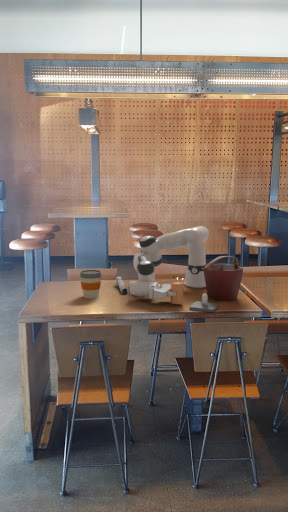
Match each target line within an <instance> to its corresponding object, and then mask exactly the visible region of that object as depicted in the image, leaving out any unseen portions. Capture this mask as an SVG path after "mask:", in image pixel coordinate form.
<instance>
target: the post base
mask: <svg viewBox="0 0 288 512" xmlns="http://www.w3.org/2000/svg"><path fill="white" fill-rule="evenodd" d="M219 305H220V303H217V302H208V295H207V293H202V296H201V301H200V300H199V301H197V300H195V302H194V303H192V304H191V305H190V306H189V310H190V311H198V312H199V311H200V312H207V313H214V312H215V311H216V310H217V309H218V308H219ZM217 307H218V308H217ZM216 308H217V309H216Z"/></svg>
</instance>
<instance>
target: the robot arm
mask: <svg viewBox="0 0 288 512" xmlns="http://www.w3.org/2000/svg"><path fill="white" fill-rule="evenodd" d="M209 236H210V231H209V229H208V228H207V227H205V226H202V225H198V226H194V227H190V228H186V229H182V230H177V231H174V232H169V233H165V234H163V235H162V234H161V235H159V236H158V237H156V236H153V235H145V236H142V237H141V238H140V239H139V241H138V243H139V247H140V249H141V251H139V252H137V253H135V254H134V256H133V261H132V264H133V267H134V271H135V272H136V273H137V275H138V276H137V277H138V280H131V281H129V283H128V292H129V294H130V295H133V296H136V297H148V298H149V299H150V300H153V299H155V300H157V299H158V300H163V299H166V298H167V297H169V296H170V297H171V296H173V295H174V296H176V295H177V292H171V283H163V284H160V282H157V281H156V276H155V275H156V274H155V273H156V272H155V267H158V266H160V265H161V264H162V263H163V262H164V259H163V255H162V253H161V251H170V250H175V249H180V248H184V247H187V249H188V264H187V270H186V272H185V277H184V281H183V282H182V283H183V286H186V287H189V288H198V289H199V288H206V283H205V277H204V267H205V266H206V265H207V263H206V261H207V260H206V255H207V252H206V250H205V242H206V241H207V240H208V238H210V237H209Z"/></svg>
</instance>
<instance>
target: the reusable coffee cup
mask: <svg viewBox="0 0 288 512" xmlns="http://www.w3.org/2000/svg"><path fill="white" fill-rule="evenodd" d="M79 277H80V286H81V290H82V295H83V298H84V299H96V298H99V297H100V295H99V294H100V289H101V283H102V280H101V277H102V272H101V270H98V269H97V270H96V269H86V270H80V275H79Z"/></svg>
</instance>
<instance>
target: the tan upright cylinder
mask: <svg viewBox="0 0 288 512" xmlns="http://www.w3.org/2000/svg"><path fill="white" fill-rule="evenodd" d="M170 284H171V292H177V295H176V296H174V295H173V296H170V303H171V304H173V305H182V304H183V303H184V284H183V282H182V281H181V282H180V281H174V282H171V283H170Z"/></svg>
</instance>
